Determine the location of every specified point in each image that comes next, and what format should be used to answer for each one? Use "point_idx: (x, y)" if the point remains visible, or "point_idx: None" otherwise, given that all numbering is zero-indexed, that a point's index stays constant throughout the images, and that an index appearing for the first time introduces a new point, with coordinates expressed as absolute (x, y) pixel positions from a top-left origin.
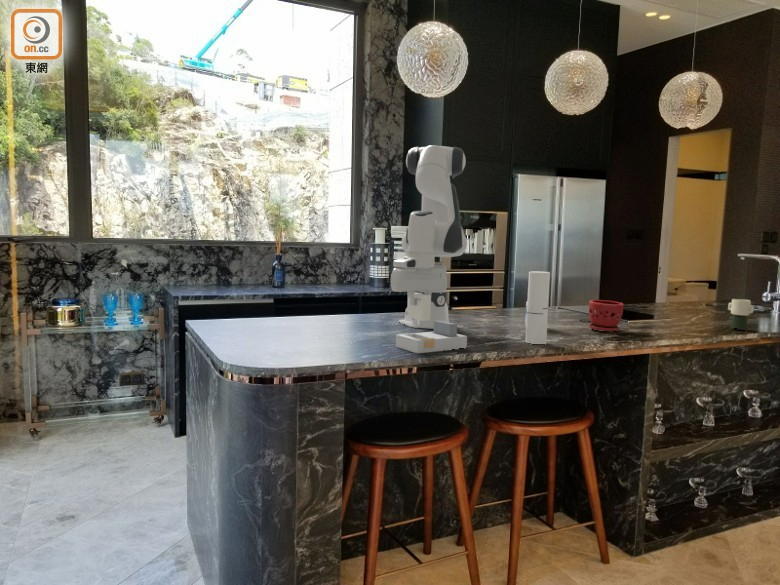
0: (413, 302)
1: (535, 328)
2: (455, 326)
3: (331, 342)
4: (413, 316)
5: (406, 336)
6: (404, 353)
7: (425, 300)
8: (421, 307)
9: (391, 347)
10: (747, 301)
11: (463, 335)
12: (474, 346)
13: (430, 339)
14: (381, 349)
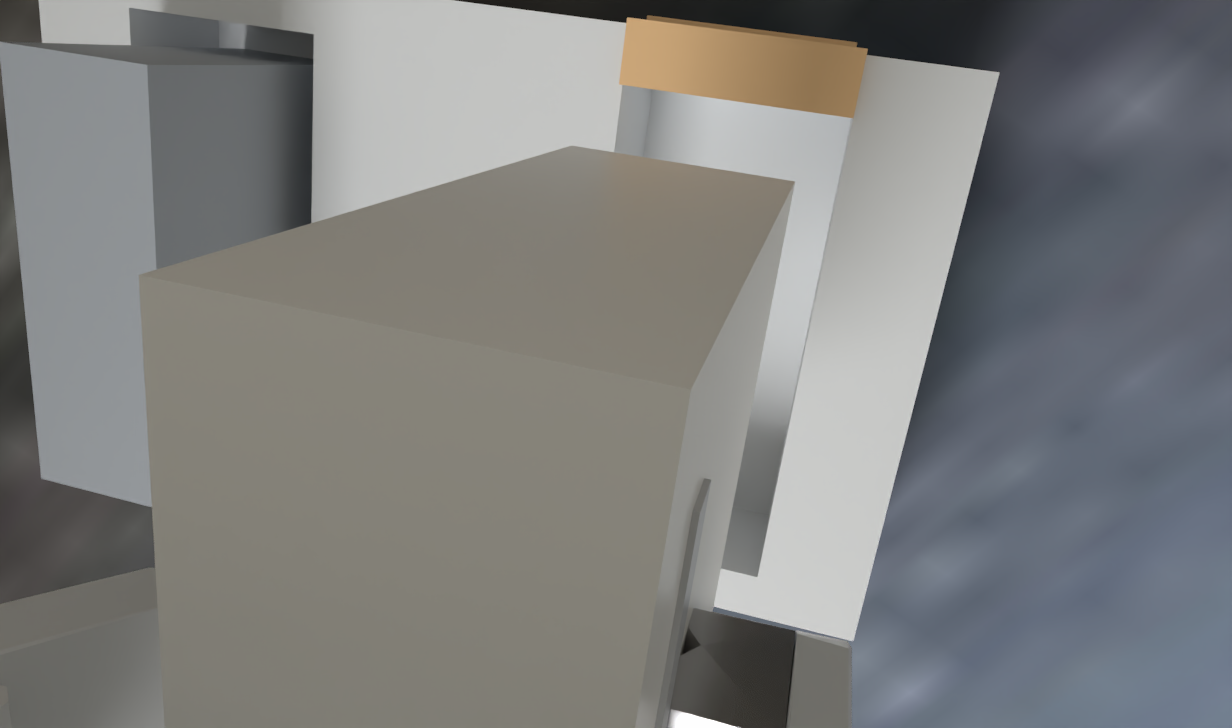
0: (844, 690)
1: None
2: (66, 48)
3: None
4: (723, 545)
5: (841, 453)
6: (1118, 180)
7: (601, 281)
8: (749, 328)
9: (930, 556)
10: None
11: (47, 25)
12: (16, 2)
13: (721, 30)
14: (1148, 550)
